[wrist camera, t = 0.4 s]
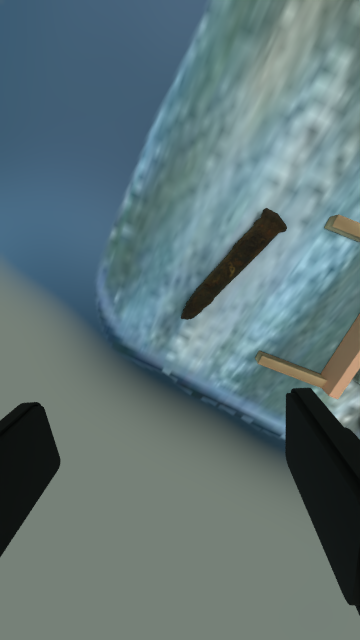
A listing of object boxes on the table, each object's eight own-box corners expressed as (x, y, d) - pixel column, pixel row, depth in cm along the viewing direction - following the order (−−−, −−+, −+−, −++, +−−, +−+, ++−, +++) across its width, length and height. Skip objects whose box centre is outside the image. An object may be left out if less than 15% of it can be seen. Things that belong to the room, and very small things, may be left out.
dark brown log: (262, 209, 32) (272, 202, 27) (281, 230, 32) (294, 226, 28) (170, 302, 37) (166, 309, 32) (188, 319, 37) (186, 328, 33)
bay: (330, 216, 31) (338, 214, 29) (403, 246, 31) (416, 245, 29) (255, 358, 38) (258, 363, 36) (315, 381, 38) (321, 388, 36)
